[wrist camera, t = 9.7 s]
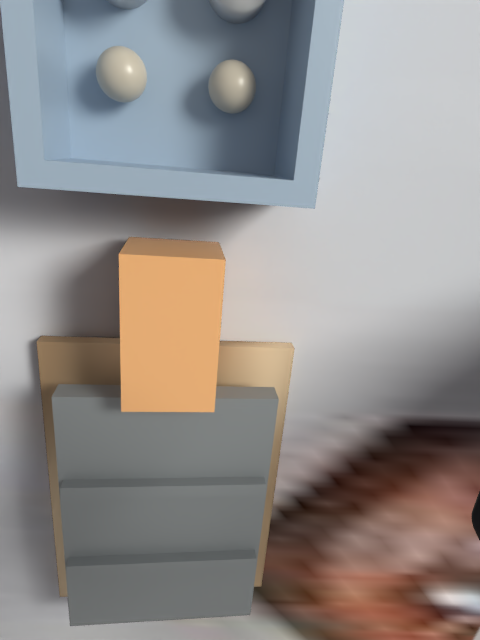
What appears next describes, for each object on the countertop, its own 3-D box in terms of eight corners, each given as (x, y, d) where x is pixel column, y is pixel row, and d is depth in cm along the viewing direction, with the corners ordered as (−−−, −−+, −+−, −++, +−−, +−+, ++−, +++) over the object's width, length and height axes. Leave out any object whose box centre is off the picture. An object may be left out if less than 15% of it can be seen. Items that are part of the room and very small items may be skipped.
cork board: (291, 342, 20) (294, 348, 20) (259, 576, 25) (261, 586, 25) (41, 335, 19) (36, 341, 18) (62, 586, 24) (59, 596, 23)
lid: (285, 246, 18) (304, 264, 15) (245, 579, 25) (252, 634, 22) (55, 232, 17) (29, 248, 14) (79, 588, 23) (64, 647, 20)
